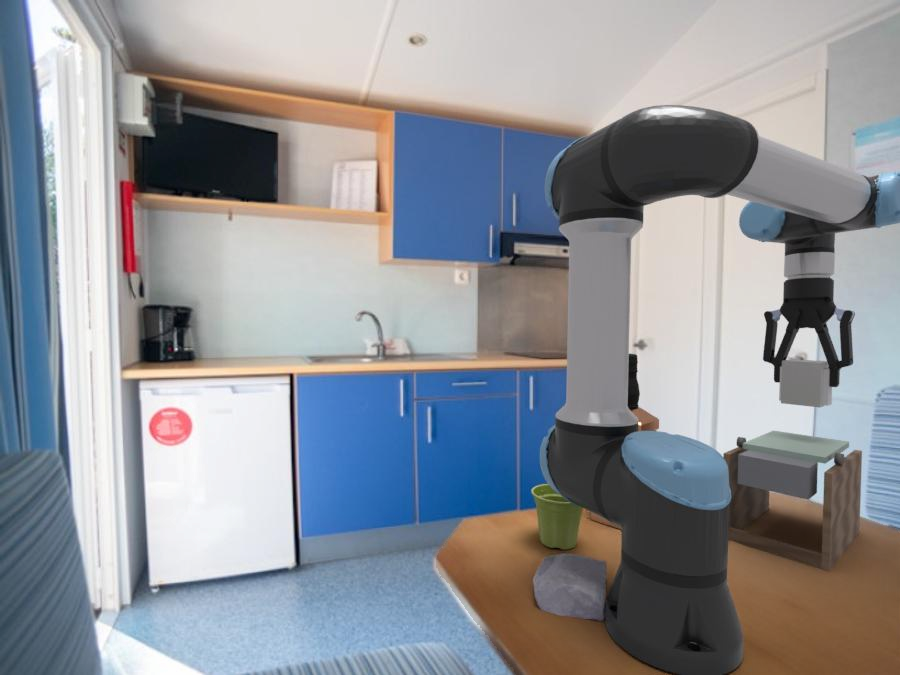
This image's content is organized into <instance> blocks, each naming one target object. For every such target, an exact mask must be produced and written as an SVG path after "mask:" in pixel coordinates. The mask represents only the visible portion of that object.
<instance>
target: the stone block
mask: <svg viewBox="0 0 900 675" xmlns="http://www.w3.org/2000/svg"><path fill="white" fill-rule="evenodd" d="M541 562H542V563H540V564H539V565H538V568H537V569H536V571H535V574H534V576H533V579H532V585H533V594H534V598H535V601H536V605H537V606H538V608H539V609H540V610H541V611H543V612H547V613H550V614H553V615H557V616H562V617H564V616H565V617H568V618H569V617H570V618H572V617H575V618H579V619H584V620H594V621H598V622H602V621H605V605H606V599H607V561H606V560H598V559H594V558H593V557H589V556H585V555H582V554H576V553H569V552H567V553H559V554H552V555H547V556H546V557H543V558H542V561H541Z"/></svg>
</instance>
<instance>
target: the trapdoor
mask: <svg viewBox="0 0 900 675" xmlns="http://www.w3.org/2000/svg"><path fill="white" fill-rule="evenodd" d="M848 448H850V441H846V440H841V439H835V438H834V439H833V438H828V437H821V436H814V435H812V436H811V435H807V434H799V433H793V432H786V431H785V432H784V431H779V430H771V431H769V432H766V433H763V434H762V435H760V436H756V437H755V438H752V439H749V440H746V442H744V443H743V449H747V451H745V452H743V453H741V454H739V455H738V484H742V485H746V486H750V487H755V488H759V489H763V490H768V491H769V492H773V493H777V494H780V495H786V496H790V497H795V498H799V499H803V500H810V499H811V498H813V496H815V495H816V494H817V493H818V468H819V467H818V466H819V463H820V464H824V465H825V464H827V463H828V462H830V461H831V460H834V455H835V453H840V454H842V453H843V452H844V451H846V450H847V449H848Z"/></svg>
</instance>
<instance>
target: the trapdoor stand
mask: <svg viewBox="0 0 900 675" xmlns="http://www.w3.org/2000/svg"><path fill="white" fill-rule="evenodd" d="M744 442H747V438H746V437H743V436H738V437H737V438H736V447H735V448H733V449H730V450H728V451H726V452H724V453H723V454H722V456H723V458H724V459H725V461H726V464H727V466H728V470H729V486H730V490H731V501H730V503H729V530H728V541H731V542H735V543H738V544H741V545H745V546H747V547H752V548H754V549H757V550H761V551H763V552H767V553H770V554H773V555H776V556H780V557H783V558H787V559H790V560H792V561H796V562H799V563H802V564H806V565H807V566H808V565H809V566H812V567H815V568H818V569H822V570H825V571H828V572H831V570H832V569H833V567H834V566H835V565H836V563H837V562H838V561H839V559H840V558H842V557H841V556H842V555H843V554H844V553H845V551H847V549H848V548H849V546H850V545H851V544H852V543H853V541H854V540H855V539H856V538H857V536H858V535H859V533H860V528H861V527H860V524H861V522H860V521H861V497H862V496H861V494H862V492H861V490H862V488H861V487H862V464H863V461H862V459H863V450H861V449H860V450H859V449H854V450H852V451H851V452H849V453H848V454H847V455H845V454H844V453H835V455H834V458H833V463H834V465H832V466H831V467H830V468H828V469H827V470H826V471H824V473H823V499H822V500H823V503H822V504H823V506H822V536H821V539H822V540H821V552H819V551H815V550H811V549H808V548H804V547H801V546H798V545H794V544H790V543H787V542H784V541H780V540H778V539H777V540H776V539H774V538H770V537H766V536H764V535H760V534H757V533H753V532H751V531H747V530H744V528H745V527H747V526H748V525H750V524H751V523H753V522H754V521H755V520H756V519H757V518H759V517H761V516H762V515H763V514H764V513H765V514H766V512H767V511H769V510H770V491H768V490H763V489H759V488H755V487H750V486H746V485H742V484H738V455H739V454H741V453H743V452H745V451H747V449H743V443H744Z"/></svg>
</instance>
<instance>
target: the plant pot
mask: <svg viewBox="0 0 900 675" xmlns="http://www.w3.org/2000/svg"><path fill="white" fill-rule="evenodd" d="M531 495H532V497H533V499H534V500H533V501H534V503H535V504H536V505H535V506H536V508H535V509H536V515H537V523H538V524H537V525H538V533H539V541H540V542H541V544H542V545H544V546H546V547H547V548H551V549H554V548H556V549H557V548H558V549H560V550H564V551H566V550H570V549H573V548H575V547H576V545H577V543H578V536H579V531H580V524H581V520H582V513H583V509H584V508H582V507H580V506H576V505H574V504H572V503H570V502H569V501H567V500H566V499H565V498H564V497H562V496H561V495H559V494H558V493H557V492H555V491H554V490H553V489H552V488H551V487H550V486H549V484H548V483H542V484H538V485H535V486H534V487H532V488H531Z"/></svg>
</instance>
